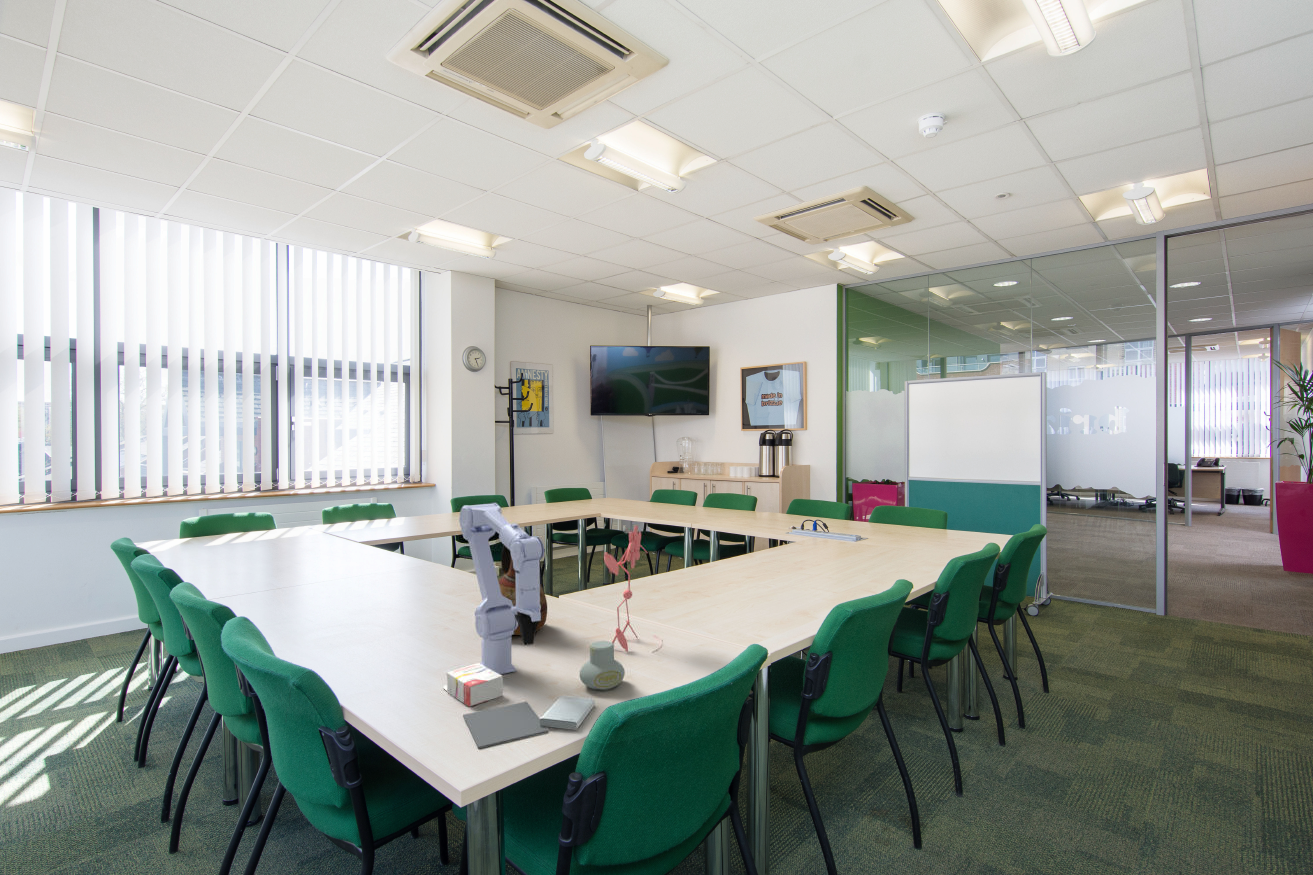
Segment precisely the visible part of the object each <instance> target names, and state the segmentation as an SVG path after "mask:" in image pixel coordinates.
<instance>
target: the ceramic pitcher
mask: <svg viewBox="0 0 1313 875" xmlns="http://www.w3.org/2000/svg"><path fill="white" fill-rule="evenodd" d="M500 562H501V563H500V564H501V578H499V579H498V582H499V586H500V590H501V594H502V596H504V597H506V598H508V599H509V600H511V601H512V603H513V606H514V607H515V606H516V570H514V567H513V560H512V557H511V551H510V550H509V549H508V548H507V547H506V546H505V545H504V544H503V545H502V551H501V556H500ZM546 597H547V596H546V594H545V590H544V589H543V587H542V585H541V584H540V605H541V609H540V612H541V621H540V622H539V624H538V626H537V629H536V632H537V631H539V630H541V629H542V628H543V627H544V626H545V624H546V621H547V617H548V602H547V598H546ZM516 612H517V611H516ZM517 614H521V613H520V612H517ZM513 635H515V636H516V635H517V636H521V631H520V627H519V624H518V626H517V628H516V630H514V634H513Z"/></svg>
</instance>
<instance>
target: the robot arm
mask: <svg viewBox="0 0 1313 875" xmlns="http://www.w3.org/2000/svg"><path fill="white" fill-rule="evenodd" d="M502 513H503V512H502V507H501V506H500V505H499V504H498V503H497V502H492V503H483V504H474V505H473V504H472V505H468V504H467V505H466V504H465V505H463V506H462V507H461V508H460V512H459V518H458V520H459V521H458V522H459V525H460V526H459V527H460V530H461V534H462V536H463V539H465V540H466V541H468V545H469V550H470V554H471V558H472V562H473V566H474V570H475V571H474V572H475V574H476V578H477V583H478V587H479V591H480V595H481V599H482V601H481V603H480V604H478V606H477V607H476V608H475V611H474V618H475V623H474V624H475V625H474V626H475V630H476V633H477V635H478V636H479V637H480V638H482V639H481V663H480V662H478V663H479V664H481V665H483V666H485V667H487V668H489V669H490V670H492V671H494V672H496V673H498V674H500V675H505V674H508V673H515V672H517V668H516V667H515V666H514V665H513V663H512V657H513V656H512V654H513V652H512V635H514V630H516V628H517V626H518V624H519V627H520V631H521V635H520V636H521V640H522V643H523V645H524V646H528V645H530V646H531V645H533V644H534V642H535V636H536V632H537V631H536V629H537V626H538V624H539V622H540V621H541V612H540V609H541V605H540V585H541V581H540V578H541V577H540V575H541V574H540V572H541V571H540V569H541V568H540V561H541V560H542V559H543V557H544V556H545V544H544V543H543V540H542V539H541V538H540V536H538V535H537V536H530V535H529V534H528V533H527V532H525V530H523V529H522V528H521V527H520V526H519V524H518V523H517V522H516V523H510V522H509V521H508V520H507V519H506V518H505V517H504V516H503V515H502ZM496 533H498V534H499V535H498V539H499V542H501V543H502V544H503V546H504V545H505V546H506V547H507V548H508V549H509V550H510V551H511V557H512V560H513V567H514V570H516V606H515V607H514V606H513V603H512V601H511V600H509V599H508V598H506V597H504V596H502V594H501V590H500V586H499V582H498V580H499V579H498V575H497V571H496V567H495V564H494V557H493V556H492V554H493V553H492V551H491V548H490V547H491V546H490V543H489V539H490V538H491V537H493V536H495V535H496ZM516 611H517V612H520V613H521V614H517V612H516Z"/></svg>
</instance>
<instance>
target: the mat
mask: <svg viewBox="0 0 1313 875" xmlns="http://www.w3.org/2000/svg"><path fill="white" fill-rule="evenodd" d="M462 718H463V719H464V721H465V724H466V726H467V727H468V730H469V732H470V734H471V736H472V739H473V741H474V743H475V745H476V746H477V749H478V750H479V749H485V748H488V747H493V746H496V745H501V744H504V743H509V741H510V742H513V741H514V742H515V741H519V740H522V739H525V738H530V736H531V737H535V736H538V735H543V734H547V733H549V729H548V728H547V726H541V725H540V724H539V722H540V721H539V720H540V718H541V717H539V716H538V715H537V712H536V711H535V710H534V709H533V708H532V707H531V705H530V704H529V702H527V701H522V702H517V703H512V704H508V705H503V706H499V707H494V708H489V709H485V710H479V711H474V712H470V713H465V714H463V715H462ZM521 738H522V739H521Z"/></svg>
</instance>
